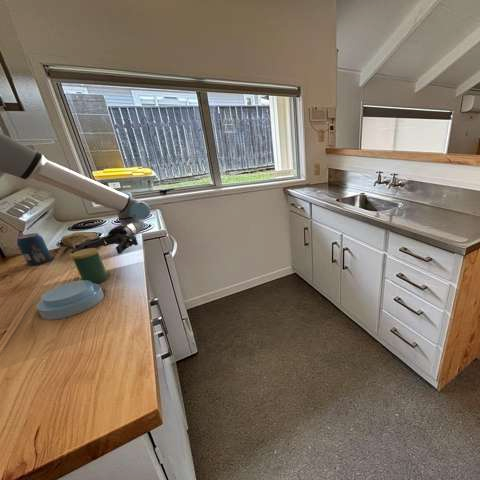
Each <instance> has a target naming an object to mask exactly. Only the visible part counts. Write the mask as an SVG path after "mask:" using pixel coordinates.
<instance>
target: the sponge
mask: <svg viewBox="0 0 480 480" xmlns="http://www.w3.org/2000/svg"><path fill="white" fill-rule="evenodd" d="M98 236H99V235H98V234H97V233H94V232H89V231H77V232H72V233H70V234H66V235H63V236H62V237H61V239H60V240H61V241H60V242H61V243H62V245H64V246H67V247H70V248H73V250H76V248H75V245H77V244H80V243H83V242H86V241H89V240H91V239H94V238H96V237H98ZM97 249H99V247H97Z"/></svg>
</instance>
